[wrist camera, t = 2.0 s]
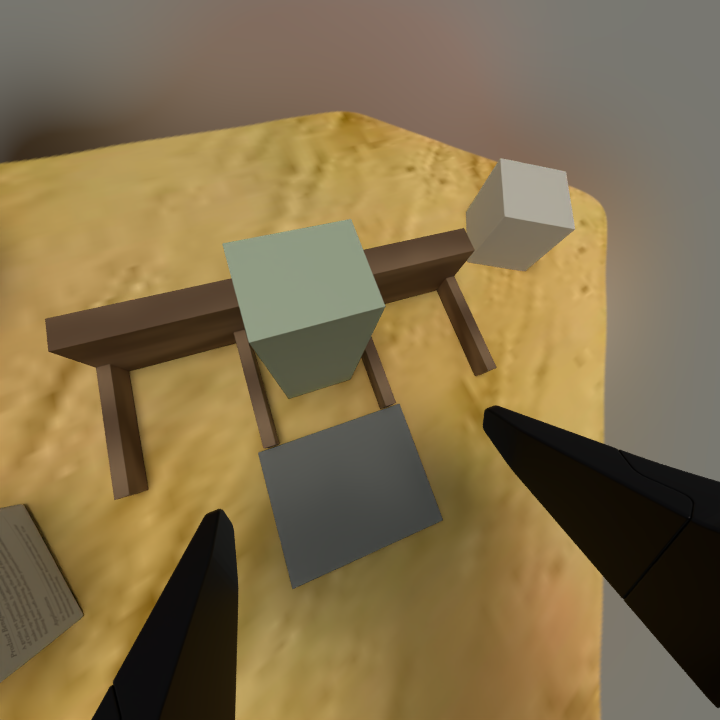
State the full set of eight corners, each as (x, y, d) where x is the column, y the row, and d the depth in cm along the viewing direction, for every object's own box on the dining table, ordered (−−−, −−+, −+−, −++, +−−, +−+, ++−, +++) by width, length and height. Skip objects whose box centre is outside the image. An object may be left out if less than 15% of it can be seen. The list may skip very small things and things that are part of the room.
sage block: (350, 379, 23) (385, 306, 11) (288, 398, 22) (248, 342, 10) (334, 334, 24) (351, 219, 12) (274, 351, 23) (222, 243, 11)
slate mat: (440, 518, 21) (443, 520, 21) (293, 586, 19) (292, 589, 18) (398, 404, 23) (399, 403, 23) (259, 452, 21) (258, 452, 20)
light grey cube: (466, 262, 28) (504, 216, 22) (465, 213, 30) (499, 157, 24) (524, 272, 29) (575, 229, 23) (519, 222, 30) (566, 171, 25)
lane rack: (483, 373, 25) (526, 354, 20) (135, 494, 19) (65, 513, 14) (436, 269, 27) (464, 228, 22) (112, 349, 21) (45, 318, 16)
